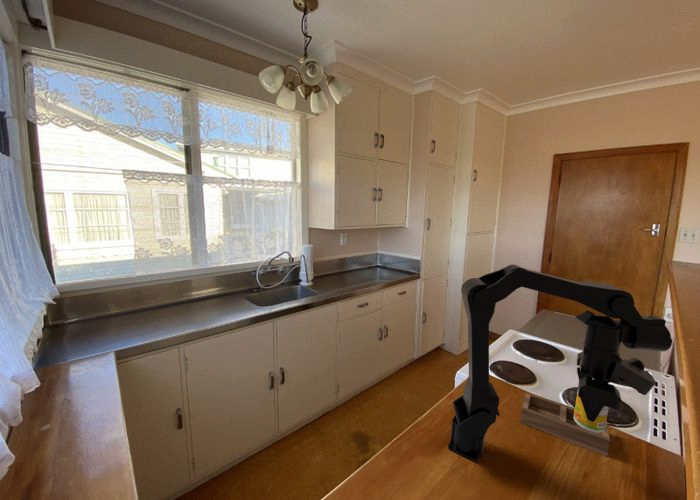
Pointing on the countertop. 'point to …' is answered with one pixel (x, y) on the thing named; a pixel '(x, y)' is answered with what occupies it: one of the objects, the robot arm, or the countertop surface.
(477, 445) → the robot arm
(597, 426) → the supplement bottle
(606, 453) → the walnut trough
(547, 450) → the countertop surface
